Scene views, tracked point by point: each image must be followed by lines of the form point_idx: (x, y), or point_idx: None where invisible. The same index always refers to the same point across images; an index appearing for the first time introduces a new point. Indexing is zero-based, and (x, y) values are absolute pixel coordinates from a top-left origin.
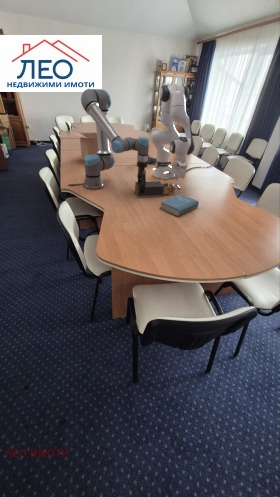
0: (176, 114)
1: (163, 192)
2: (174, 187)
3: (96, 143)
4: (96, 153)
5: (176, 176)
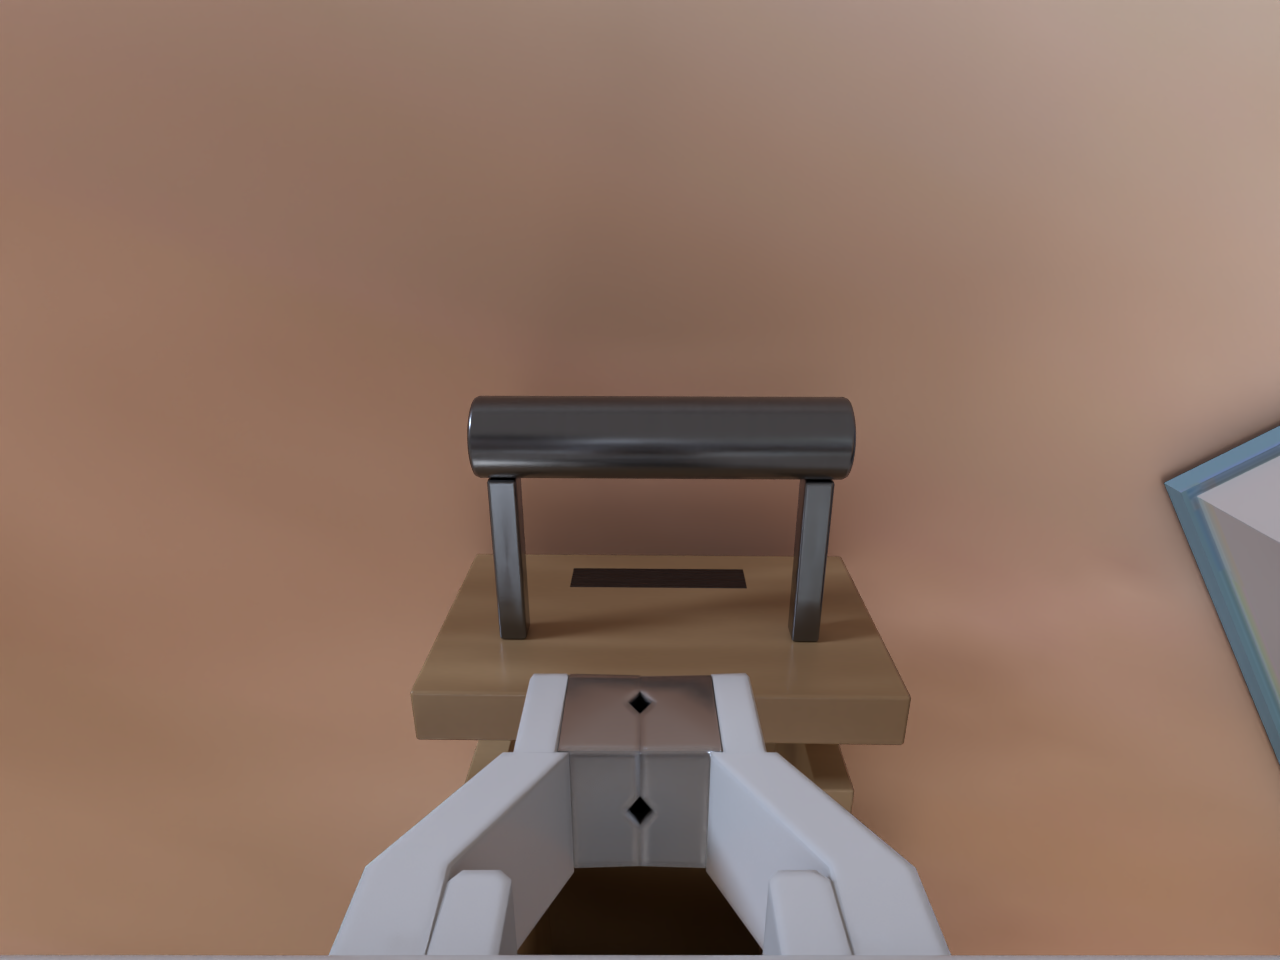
0: None
1: None
2: (904, 702)
3: None
4: None
5: (541, 850)
